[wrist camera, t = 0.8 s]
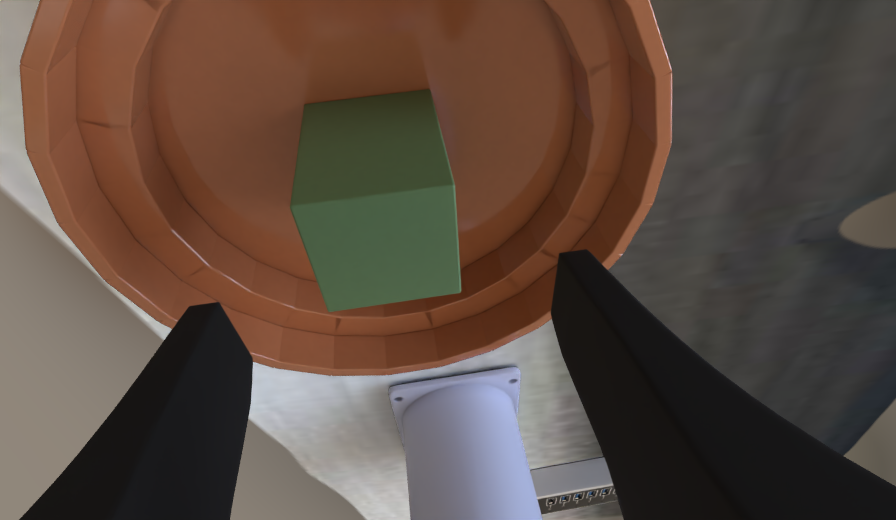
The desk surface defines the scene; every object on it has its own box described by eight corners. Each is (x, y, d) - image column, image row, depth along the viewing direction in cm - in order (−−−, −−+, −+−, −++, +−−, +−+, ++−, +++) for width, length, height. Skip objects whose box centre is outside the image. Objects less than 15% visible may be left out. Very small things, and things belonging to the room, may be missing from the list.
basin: (582, 276, 25) (612, 340, 22) (222, 329, 24) (205, 404, 21) (681, -220, 12) (782, -219, 9) (-85, -152, 11) (-234, -128, 8)
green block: (439, 189, 19) (462, 293, 15) (332, 204, 19) (327, 313, 15) (430, 87, 16) (455, 185, 12) (303, 103, 16) (288, 207, 12)
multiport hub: (631, 470, 45) (642, 496, 44) (514, 491, 45) (521, 518, 43) (641, 450, 42) (652, 477, 40) (515, 472, 42) (522, 501, 40)
